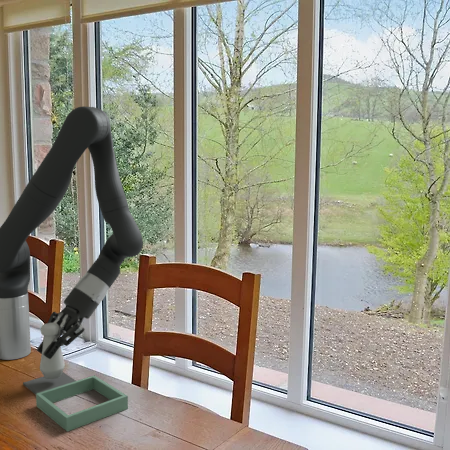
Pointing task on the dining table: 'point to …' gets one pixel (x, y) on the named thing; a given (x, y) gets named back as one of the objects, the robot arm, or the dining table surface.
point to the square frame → (87, 415)
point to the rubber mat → (47, 383)
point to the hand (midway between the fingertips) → (43, 354)
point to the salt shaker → (56, 363)
